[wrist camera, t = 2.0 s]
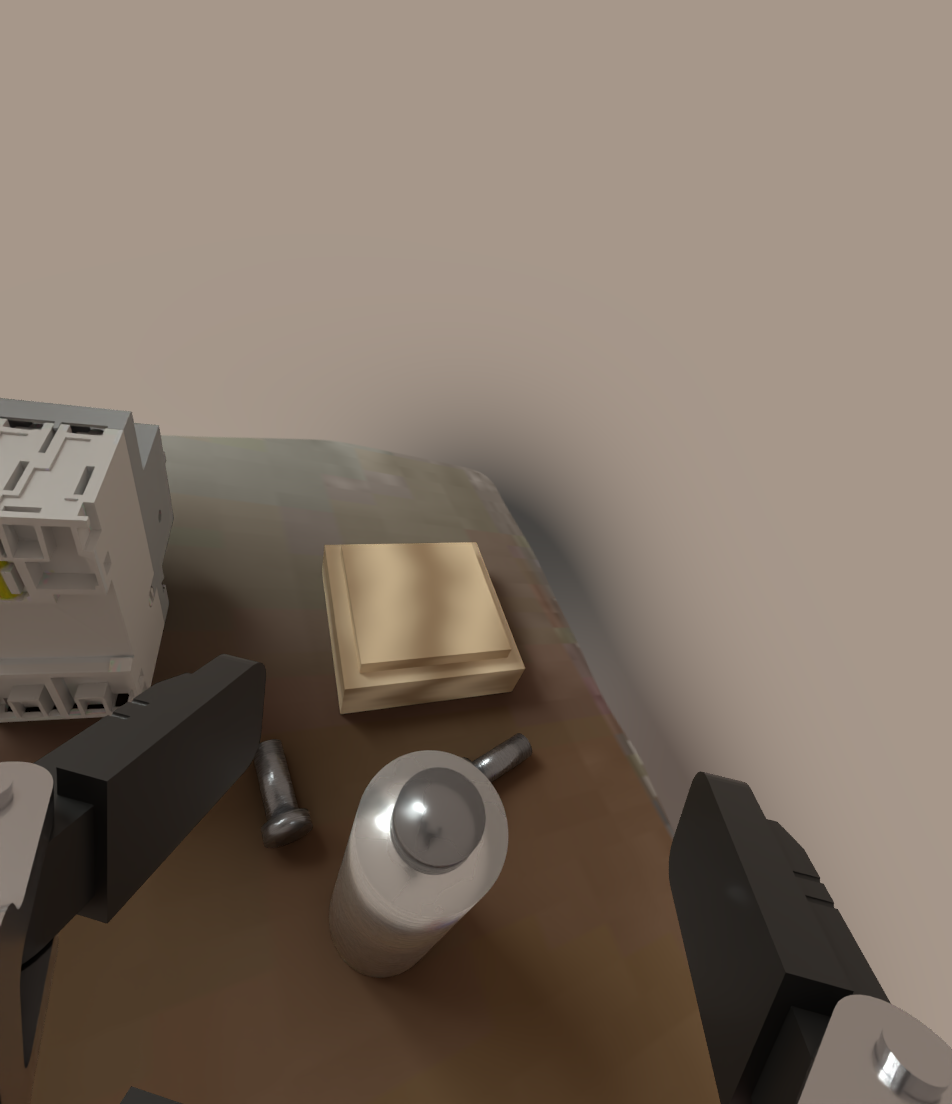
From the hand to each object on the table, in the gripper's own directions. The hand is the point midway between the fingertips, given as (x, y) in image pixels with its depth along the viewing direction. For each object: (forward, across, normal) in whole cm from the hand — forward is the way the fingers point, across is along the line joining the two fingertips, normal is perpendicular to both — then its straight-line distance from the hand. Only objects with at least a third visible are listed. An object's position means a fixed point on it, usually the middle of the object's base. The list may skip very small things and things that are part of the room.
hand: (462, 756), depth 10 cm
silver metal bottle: (+13, +3, +19) cm, 23 cm away
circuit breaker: (+20, +26, +11) cm, 35 cm away
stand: (+28, +7, +11) cm, 31 cm away
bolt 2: (+22, -1, +16) cm, 27 cm away
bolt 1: (+16, +11, +16) cm, 25 cm away
